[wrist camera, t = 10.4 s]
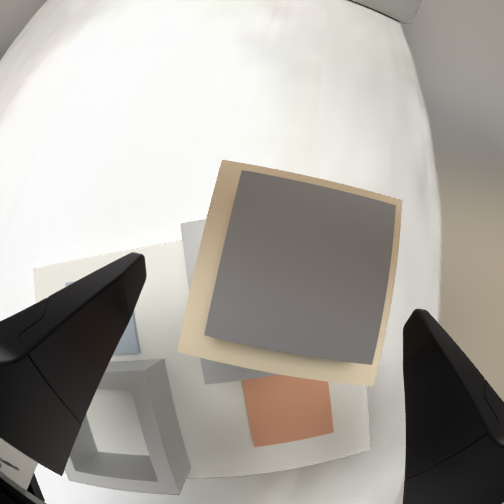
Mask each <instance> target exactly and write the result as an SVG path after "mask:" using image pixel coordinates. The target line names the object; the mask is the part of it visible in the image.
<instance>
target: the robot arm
mask: <svg viewBox="0 0 504 504" xmlns="http://www.w3.org/2000/svg"><path fill="white" fill-rule="evenodd" d="M146 277H147V273H146V263H145V257H144V255H143V254H140V253H136V252H131V253H129V254H127V255H125V256H123V257H121V258H119V259H117V260H115V261H113V262H111V263H109V264H108V265H106V266H104V267H102V268H100V269H98V270H96V271H94V272H92V273H90V274H88V275H87V276H85V277H83V278H81V279H79V280H77V281H75V282H74V283H72V284H70V285H68V286H66V287H64V288H63V289H61V290H59V291H57V292H55V293H54V294H52V295H50V296H48V298H45V299H43V300H41V301H39V302H38V303H36V304H34V305H32V306H30V307H28V308H27V309H25V310H23V311H21V312H19V313H17V314H15V315H13V316H11V317H8V318H6V319H4V320H2V321H0V504H46V503H44V501H45V500H44V497H43V495H42V493H41V490H40V488H39V485H38V482H37V480H36V477H35V474H34V471H35V469H36V466H37V464H38V463H39V464H41V465H43V466H44V467H46V468H48V469H50V470H52V471H53V472H55V473H57V474H59V475H61V476H62V475H63V472H64V470H65V467H66V464H67V462H68V459H69V456H70V454H71V451H72V448H73V446H74V443H75V441H76V438H77V436H78V433H79V431H80V428H81V426H82V423H83V420H84V418H85V416H86V413H87V411H88V409H89V406H90V404H91V402H92V399H93V397H94V395H95V393H96V390H97V388H98V386H99V384H100V381H101V379H102V377H103V375H104V373H105V371H106V368H107V366H108V364H109V362H110V360H111V358H112V356H113V354H114V352H115V350H116V348H117V346H118V344H119V341H120V339H121V337H122V335H123V333H124V331H125V329H126V327H127V326H128V323H129V321H130V319H131V317H132V314H133V312H134V309H135V307H136V304H137V301H138V299H139V296H140V294H141V291H142V289H143V286H144V284H145V281H146ZM403 376H404V391H405V413H406V462H405V481H404V495H403V504H504V402H503V401H502V399H501V398H500V397H499V396H498V395H497V393H496V392H495V391H494V390H493V388H492V387H491V386H490V384H489V383H488V382H487V381H486V380H484V377H483V376H482V374H481V373H480V372H479V371H478V369H477V368H476V367H475V366H474V364H473V363H472V362H471V361H470V360H469V358H468V357H467V356H466V355H465V353H464V352H463V351H462V350H461V349H460V348H459V346H458V345H457V344H456V343H455V342H454V341H453V339H452V338H451V337H450V336H449V335H448V334H447V332H446V331H445V330H444V329H443V328H442V327H441V326H440V325H439V323H438V322H437V321H436V320H435V319H434V318H433V317H432V316H431V315H430V313H429V312H428V311H426V310H423V309H415V310H414V311H413V313H412V314H411V316H410V317H409V319H408V320H407V322H406V323H405V325H404V328H403Z"/></svg>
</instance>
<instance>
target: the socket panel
mask: <svg viewBox="0 0 504 504" xmlns="http://www.w3.org/2000/svg"><path fill="white" fill-rule="evenodd" d="M205 223H206V219H204V220H199V221H193V222H188V223H182V224H181V231H182V241H176V242H170V243H165V244H159V245H154V246H148V247H143V248H137V249H132V250H126V251H121V252H116V253H110V254H105V255H100V256H95V257H90V258H85V259H80V260H74V261H69V262H65V263H60V264H55V265H50V266H45V267H40V268H35V269H34V284H35V298H36V303H38V302H39V301H41V300H43V299H45V298H48V296H50V295H52V294H54V293H55V292H57V291H59V290H61V289H63V288H64V287H66V286H68V285H70V284H72V283H74V282H75V281H77V280H79V279H81V278H83V277H85V276H87V275H88V274H90V273H92V272H94V271H96V270H98V269H100V268H102V267H104V266H106V265H108V264H109V263H111V262H113V261H115V260H117V259H119V258H121V257H123V256H125V255H127V254H129V253H131V252H136V253H140V254H143V255H144V257H145V263H146V273H147V277H146V281H145V284H144V286H143V289H142V291H141V294H140V296H139V299H138V301H137V304H136V307H135V309H134V312H133V314H132V317H131V319H130V321H129V323H128V326H127V327H126V329H125V331H124V333H123V335H122V337H121V339H120V341H119V344H118V346H117V348H116V350H115V352H114V354H113V356H112V358H111V360H110V362H109V364H108V366H107V368H106V371H105V373H104V375H103V377H102V379H101V381H100V384H99V386H98V388H97V390H96V393H95V395H94V397H93V399H92V402H91V404H90V406H89V409H88V411H87V413H86V416H85V418H84V420H83V423H82V426H81V428H80V431H79V433H78V436H77V438H76V441H75V443H74V446H73V448H72V451H71V454H70V456H69V459H68V462H67V464H66V467H65V472H66V474H67V477H68V479H69V480H70V481H74V482H78V483H83V484H88V485H93V486H98V487H104V488H110V489H116V490H124V491H132V492H141V493H153V494H169V495H180V492H181V490H182V488H183V485H184V483H185V480H186V479H191V478H221V477H235V476H246V475H255V474H263V473H271V472H277V471H284V470H289V469H295V468H300V467H305V466H310V465H315V464H319V463H324V462H328V461H332V460H336V459H340V458H343V457H347V456H351V455H354V454H358V453H361V452H364V451H367V450H370V432H369V415H368V402H367V390H366V386H364V385H353V384H344V383H335V382H327V381H319V380H312V379H305V378H298V377H292V376H286V375H280V374H274V373H269V372H264V371H258V370H253V369H248V368H243V367H239V366H234V365H230V364H225V363H221V362H216V361H212V360H208V359H204V358H200V357H196V356H192V355H188V354H185V353H181V352H177V350H178V345H179V340H180V334H181V329H182V324H183V320H184V315H185V310H186V305H187V301H188V296H189V291H190V287H191V282H192V278H193V273H194V269H195V265H196V260H197V256H198V252H199V248H200V243H201V239H202V235H203V231H204V227H205Z"/></svg>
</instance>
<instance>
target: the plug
mask: <svg viewBox="0 0 504 504" xmlns="http://www.w3.org/2000/svg"><path fill="white" fill-rule="evenodd" d="M401 211H402V200H399V199H396V198H392V197H389V196H385V195H382V194H378V193H374V192H371V191H367V190H363V189H359V188H355V187H352V186H348V185H344V184H340V183H335V182H331V181H327V180H323V179H319V178H314V177H310V176H305V175H301V174H296V173H291V172H286V171H281V170H276V169H271V168H266V167H261V166H255V165H250V164H244V163H238V162H232V161H226V160H222V162H221V166H220V170H219V173H218V177H217V181H216V184H215V188H214V192H213V196H212V200H211V203H210V207H209V211H208V215H207V219H206V223H205V227H204V231H203V235H202V239H201V243H200V248H199V252H198V256H197V260H196V265H195V269H194V273H193V278H192V282H191V287H190V291H189V296H188V301H187V305H186V310H185V315H184V320H183V324H182V329H181V334H180V340H179V345H178V350H177V352H181V353H185V354H188V355H192V356H196V357H200V358H204V359H208V360H212V361H216V362H221V363H225V364H230V365H234V366H239V367H243V368H248V369H253V370H258V371H264V372H269V373H274V374H280V375H286V376H292V377H298V378H305V379H312V380H319V381H327V382H335V383H344V384H353V385H364V386H373V385H374V381H375V377H376V373H377V369H378V365H379V361H380V357H381V352H382V348H383V343H384V339H385V334H386V329H387V324H388V318H389V313H390V307H391V301H392V295H393V288H394V281H395V274H396V266H397V258H398V249H399V238H400V226H401Z"/></svg>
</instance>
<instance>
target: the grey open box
mask: <svg viewBox="0 0 504 504" xmlns="http://www.w3.org/2000/svg"><path fill="white" fill-rule="evenodd" d="M352 1H354V2H357V3H360V4H362V5H365V6H367V7H370V8H372V9H374V10H377V11H379V12H381V13H383V14H386V15H388V16H390V17H392V18H394V19H396V20H398V21H401V22H403V23H405V24H409V23H411V22H412V21H413V19H414V17H415V14H416V12H417V10H418V7H419V5H420V3H421V0H352Z"/></svg>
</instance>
